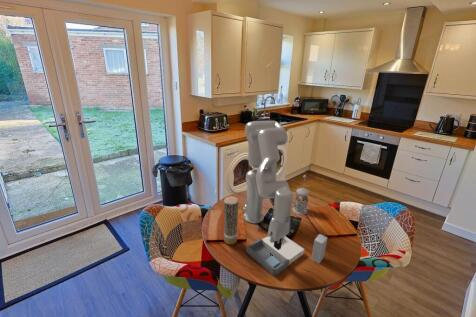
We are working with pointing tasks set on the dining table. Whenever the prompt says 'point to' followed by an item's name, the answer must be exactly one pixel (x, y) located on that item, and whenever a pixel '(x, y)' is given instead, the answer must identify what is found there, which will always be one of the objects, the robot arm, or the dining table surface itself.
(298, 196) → the french press
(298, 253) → the board
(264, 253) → the tray
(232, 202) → the paper tube
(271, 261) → the tile
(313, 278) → the dining table surface
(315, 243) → the skincare box
